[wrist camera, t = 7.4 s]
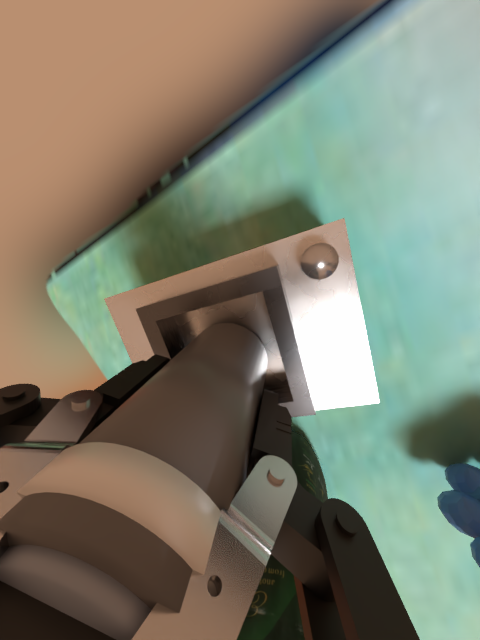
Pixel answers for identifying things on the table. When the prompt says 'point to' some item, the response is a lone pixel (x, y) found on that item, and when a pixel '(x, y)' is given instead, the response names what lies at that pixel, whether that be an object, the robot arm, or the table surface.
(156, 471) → the flashlight
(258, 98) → the table surface
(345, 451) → the table surface
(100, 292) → the table surface
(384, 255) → the table surface
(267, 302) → the box with square recess
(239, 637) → the coffee jar
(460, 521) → the grapes
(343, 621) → the robot arm
